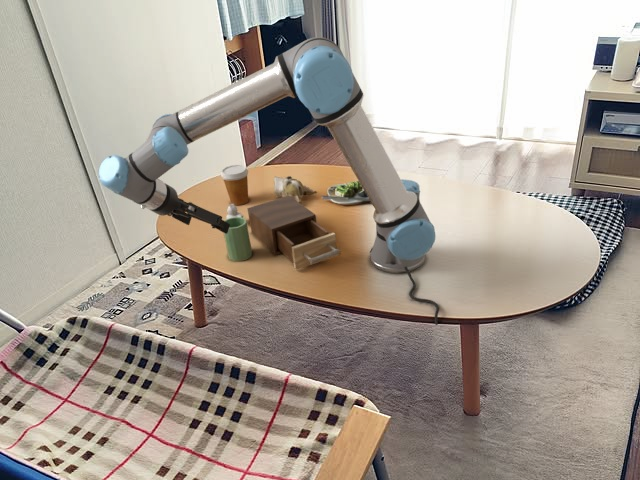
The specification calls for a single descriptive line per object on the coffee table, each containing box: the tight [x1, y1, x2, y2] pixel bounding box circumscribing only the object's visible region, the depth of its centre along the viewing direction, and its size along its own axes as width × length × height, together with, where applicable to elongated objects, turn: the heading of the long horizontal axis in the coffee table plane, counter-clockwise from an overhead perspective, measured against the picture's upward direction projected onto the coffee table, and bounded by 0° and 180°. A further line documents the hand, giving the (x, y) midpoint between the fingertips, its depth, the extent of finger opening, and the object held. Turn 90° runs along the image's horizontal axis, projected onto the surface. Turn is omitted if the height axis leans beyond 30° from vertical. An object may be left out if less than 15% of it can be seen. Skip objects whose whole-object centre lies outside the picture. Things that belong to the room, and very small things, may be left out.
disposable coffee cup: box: [220, 164, 249, 206], centre depth 198 cm, size 10×10×12 cm
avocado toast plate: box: [321, 180, 371, 206], centre depth 195 cm, size 19×18×5 cm
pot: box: [222, 217, 253, 262], centre depth 167 cm, size 7×7×11 cm
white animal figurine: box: [225, 202, 244, 220], centre depth 185 cm, size 5×7×8 cm
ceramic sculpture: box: [273, 175, 318, 204], centre depth 197 cm, size 11×9×15 cm
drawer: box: [275, 219, 341, 271], centre depth 163 cm, size 23×14×7 cm, turn 29°
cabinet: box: [246, 195, 317, 256], centre depth 175 cm, size 18×15×9 cm
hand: (208, 224), depth 154 cm, fingers open, 13 cm apart
